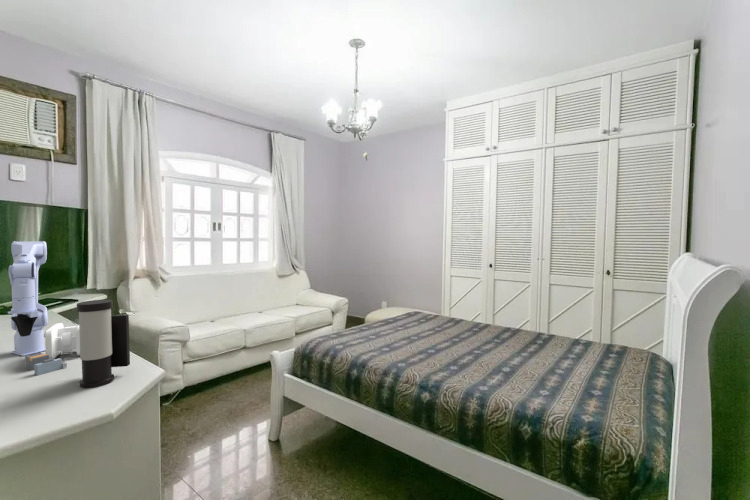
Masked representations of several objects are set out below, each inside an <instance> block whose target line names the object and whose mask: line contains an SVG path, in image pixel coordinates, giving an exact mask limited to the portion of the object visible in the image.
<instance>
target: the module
mask: <svg viewBox="0 0 750 500" xmlns="http://www.w3.org/2000/svg"><path fill="white" fill-rule="evenodd" d="M48 359H49V355H48V354H46V353H41V352H38V353H33V354H29V355H25V356H24V365H25V366H24V368H26V369H29V370H32V371H34V364H38V363H42V362H43V361H44V360H48Z"/></svg>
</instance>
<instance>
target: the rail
mask: <svg viewBox="0 0 750 500" xmlns="http://www.w3.org/2000/svg"><path fill="white" fill-rule="evenodd" d="M67 365H68V364H67V362H64V361H62V369H66V368H67V367H68V366H67Z"/></svg>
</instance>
